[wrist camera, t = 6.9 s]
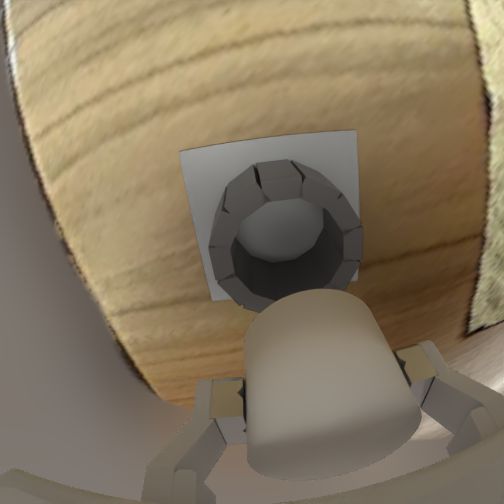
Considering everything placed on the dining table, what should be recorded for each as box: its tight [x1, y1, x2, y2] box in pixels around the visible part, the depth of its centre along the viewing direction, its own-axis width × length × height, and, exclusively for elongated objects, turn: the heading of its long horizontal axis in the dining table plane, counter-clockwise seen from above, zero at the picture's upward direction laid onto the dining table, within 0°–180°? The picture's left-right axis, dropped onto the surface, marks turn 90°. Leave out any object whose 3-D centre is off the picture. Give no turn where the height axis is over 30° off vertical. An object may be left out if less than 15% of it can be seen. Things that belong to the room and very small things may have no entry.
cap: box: [244, 289, 422, 481], centre depth 9 cm, size 5×5×4 cm
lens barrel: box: [179, 130, 363, 313], centre depth 20 cm, size 12×12×5 cm
